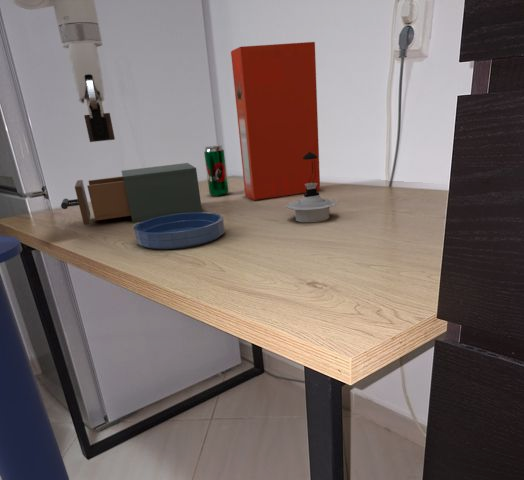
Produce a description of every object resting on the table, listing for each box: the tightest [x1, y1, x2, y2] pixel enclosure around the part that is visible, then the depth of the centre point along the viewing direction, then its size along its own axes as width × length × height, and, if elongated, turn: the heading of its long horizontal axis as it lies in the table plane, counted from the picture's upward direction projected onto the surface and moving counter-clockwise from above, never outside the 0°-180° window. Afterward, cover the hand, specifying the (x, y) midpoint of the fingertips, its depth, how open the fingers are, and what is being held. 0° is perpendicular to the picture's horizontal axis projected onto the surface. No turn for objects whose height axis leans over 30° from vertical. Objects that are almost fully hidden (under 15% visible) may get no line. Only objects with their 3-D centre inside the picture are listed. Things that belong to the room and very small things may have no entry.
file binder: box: [230, 41, 321, 201], centre depth 118 cm, size 8×17×32 cm, turn 109°
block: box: [83, 112, 116, 143], centre depth 103 cm, size 5×5×5 cm
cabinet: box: [121, 162, 203, 223], centre depth 114 cm, size 16×13×10 cm
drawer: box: [60, 175, 131, 225], centre depth 111 cm, size 18×11×8 cm, turn 106°
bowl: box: [133, 211, 226, 250], centre depth 91 cm, size 16×16×3 cm
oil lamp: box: [286, 151, 339, 223], centre depth 95 cm, size 12×10×10 cm
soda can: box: [204, 145, 229, 197], centre depth 129 cm, size 5×5×12 cm
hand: (101, 138), depth 104 cm, fingers closed on block, 5 cm apart
